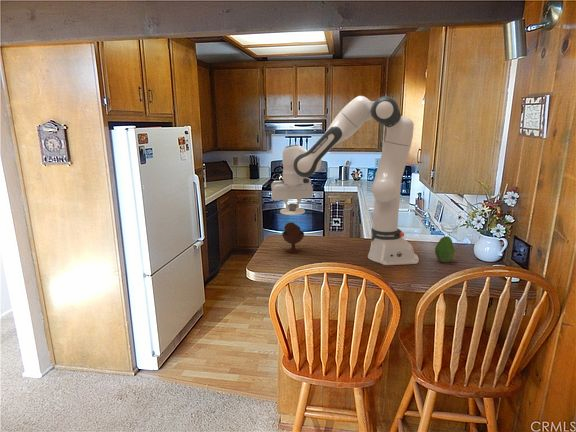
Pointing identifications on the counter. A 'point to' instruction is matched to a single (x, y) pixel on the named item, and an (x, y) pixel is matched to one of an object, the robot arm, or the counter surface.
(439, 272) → the counter surface
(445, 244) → the avocado
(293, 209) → the lid
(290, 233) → the ice cream bowl
